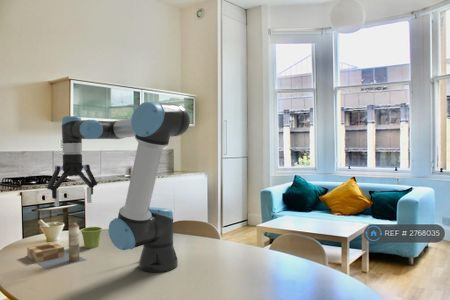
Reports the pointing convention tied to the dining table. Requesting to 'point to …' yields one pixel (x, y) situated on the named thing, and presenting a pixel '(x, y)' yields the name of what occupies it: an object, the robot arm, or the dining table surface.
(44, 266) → the mat
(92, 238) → the plant pot
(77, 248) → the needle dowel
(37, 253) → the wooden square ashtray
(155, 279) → the dining table surface
